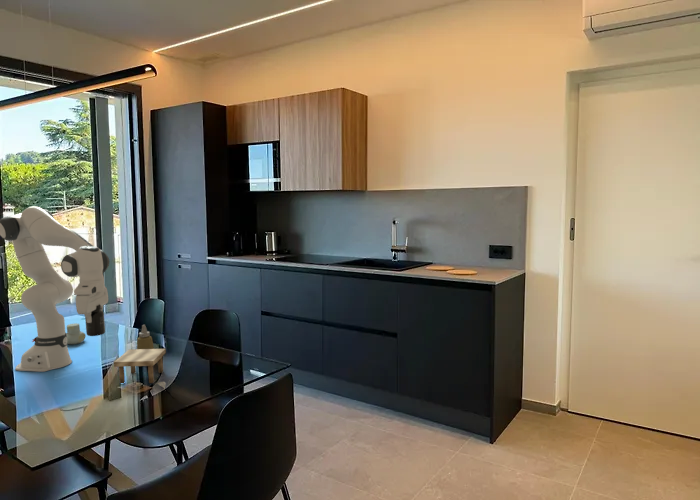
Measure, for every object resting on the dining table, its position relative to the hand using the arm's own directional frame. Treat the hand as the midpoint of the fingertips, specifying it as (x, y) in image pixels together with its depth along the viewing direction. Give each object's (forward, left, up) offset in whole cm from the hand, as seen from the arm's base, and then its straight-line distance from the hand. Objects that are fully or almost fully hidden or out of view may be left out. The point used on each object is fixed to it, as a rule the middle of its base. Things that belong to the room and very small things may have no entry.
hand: (94, 319), depth 202 cm
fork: (+29, -6, -29) cm, 41 cm away
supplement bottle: (0, 0, -6) cm, 6 cm away
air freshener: (-40, +61, -29) cm, 78 cm away
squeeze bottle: (+9, +28, -29) cm, 41 cm away
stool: (+14, +9, -28) cm, 33 cm away
